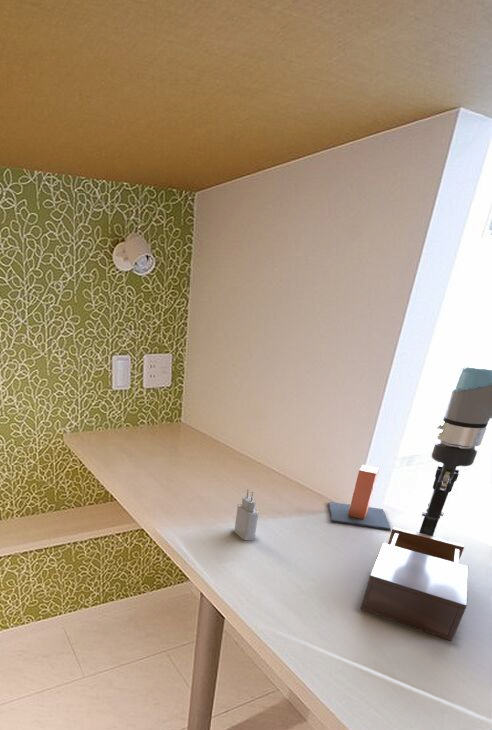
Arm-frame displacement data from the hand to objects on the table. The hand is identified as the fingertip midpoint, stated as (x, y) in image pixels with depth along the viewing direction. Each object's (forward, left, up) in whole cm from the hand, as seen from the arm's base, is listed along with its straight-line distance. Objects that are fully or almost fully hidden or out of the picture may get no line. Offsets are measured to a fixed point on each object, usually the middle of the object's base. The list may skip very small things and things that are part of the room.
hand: (423, 540), depth 101 cm
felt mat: (+12, -14, -2) cm, 19 cm away
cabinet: (+7, +24, -2) cm, 25 cm away
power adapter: (+40, +7, -2) cm, 41 cm away
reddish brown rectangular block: (+12, -14, -2) cm, 19 cm away
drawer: (+3, +11, -1) cm, 11 cm away
